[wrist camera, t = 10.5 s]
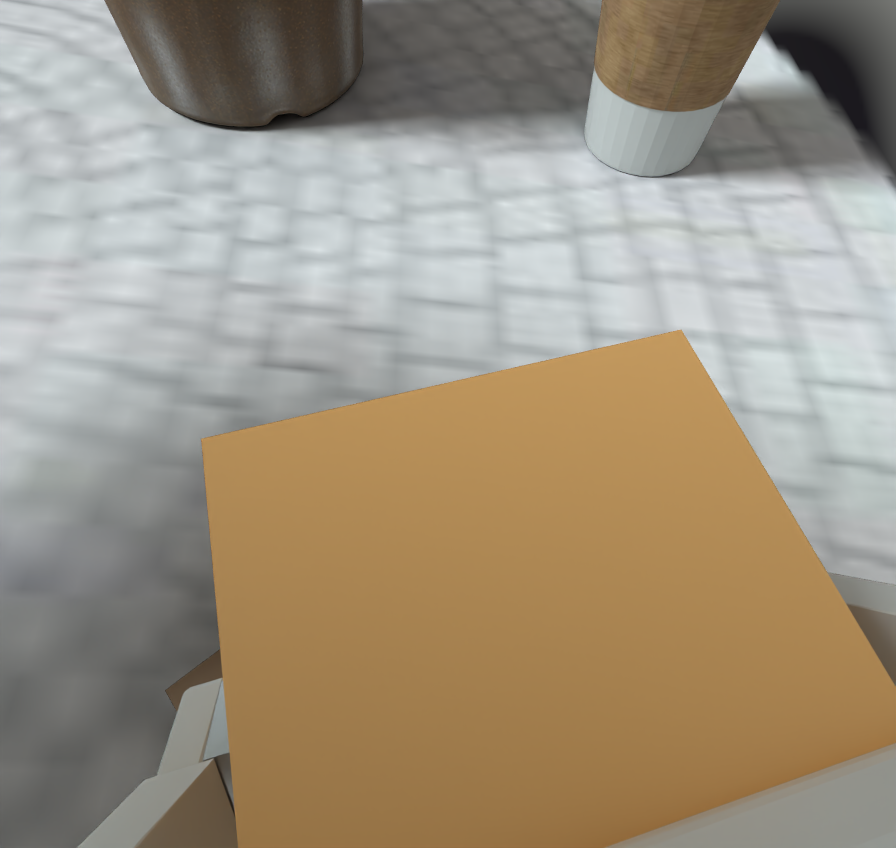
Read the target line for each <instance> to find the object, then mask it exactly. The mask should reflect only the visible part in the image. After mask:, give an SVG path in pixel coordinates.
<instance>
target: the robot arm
mask: <svg viewBox="0 0 896 848" xmlns="http://www.w3.org/2000/svg"><path fill="white" fill-rule="evenodd" d="M827 573H828V572H827ZM828 575H829V576H830V578H831V580H832V581H833V583H834V585H835V586H836V588H837V590H838V591H839V593H840V595H841V596H842V598H843V600H844V601H845V603H846V605H847V606H848V608H849V610H850V611H851V613H852V615H853V616H854V618H855V620H856V621H857V623H858V625H859V626H860V628H861V630H862V631H863V633H864V635H865V636H866V638H867V640H868V641H869V643H870V645H871V646H872V648H873V650H874V651H875V653H876V655H877V656H878V658H879V660H880V661H881V663H882V665H883V666H884V668H885V670H886V671H887V673H888V675H889V676H890V678H891V680H892V681H893V683H894V685H895V686H896V585H892V584H887V583H882V582H876V581H871V580H866V579H860V578H855V577H849V576H844V575H839V574H833V573H828ZM77 848H238V841H237V830H236V819H235V808H234V796H233V785H232V774H231V763H230V752H229V741H228V730H227V719H226V708H225V697H224V686H223V678H220V679H216V680H213V681H210V682H206V683H203V684H200V685H196V686H193V687H190V688H189V689H187V690H186V691H185V692H184V694H183V696H182V699H181V702H180V705H179V708H178V711H177V714H176V717H175V720H174V723H173V726H172V729H171V732H170V736H169V739H168V742H167V745H166V748H165V751H164V754H163V757H162V760H161V763H160V766H159V769H158V772H157V775H156V776H154V777H151V778H148V779H145V780H144V781H143V782H142V783H141V784H140V785H139V786H138V787H137V788H136V789H135V790H134V791H133V792H132V793H131V794H130V795H129V796H128V797H127V798H126V799H125V800H124V801H123V802H122V803H121V804H120V805H119V806H118V807H117V808H116V809H115V810H114V811H113V812H112V813H111V814H110V815H109V816H108V817H107V818H106V819H105V820H104V821H103V822H102V823H101V824H100V825H99V826H98V827H97V828H96V829H95V830H94V831H93V832H92V833H91V834H90V835H89V836H88V837H87V838H86V839H85V840H84V841H83V842H82V843H81V844H80V845H79V846H78V847H77ZM604 848H896V743H894V744H891V745H888V746H885V747H883V748H880V749H877V750H874V751H871V752H869V753H866V754H863V755H860V756H857V757H855V758H852V759H849V760H846V761H844V762H841V763H838V764H835V765H832V766H830V767H827V768H824V769H821V770H818V771H816V772H813V773H810V774H807V775H804V776H802V777H799V778H796V779H793V780H790V781H788V782H785V783H782V784H779V785H776V786H774V787H771V788H768V789H765V790H762V791H760V792H757V793H754V794H751V795H748V796H746V797H743V798H740V799H737V800H734V801H732V802H729V803H726V804H723V805H720V806H718V807H715V808H712V809H709V810H707V811H704V812H701V813H698V814H696V815H693V816H690V817H687V818H685V819H682V820H679V821H676V822H673V823H671V824H668V825H665V826H662V827H660V828H657V829H654V830H651V831H649V832H646V833H643V834H640V835H638V836H635V837H632V838H629V839H626V840H624V841H621V842H618V843H615V844H613V845H610V846H607V847H604Z"/></svg>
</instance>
